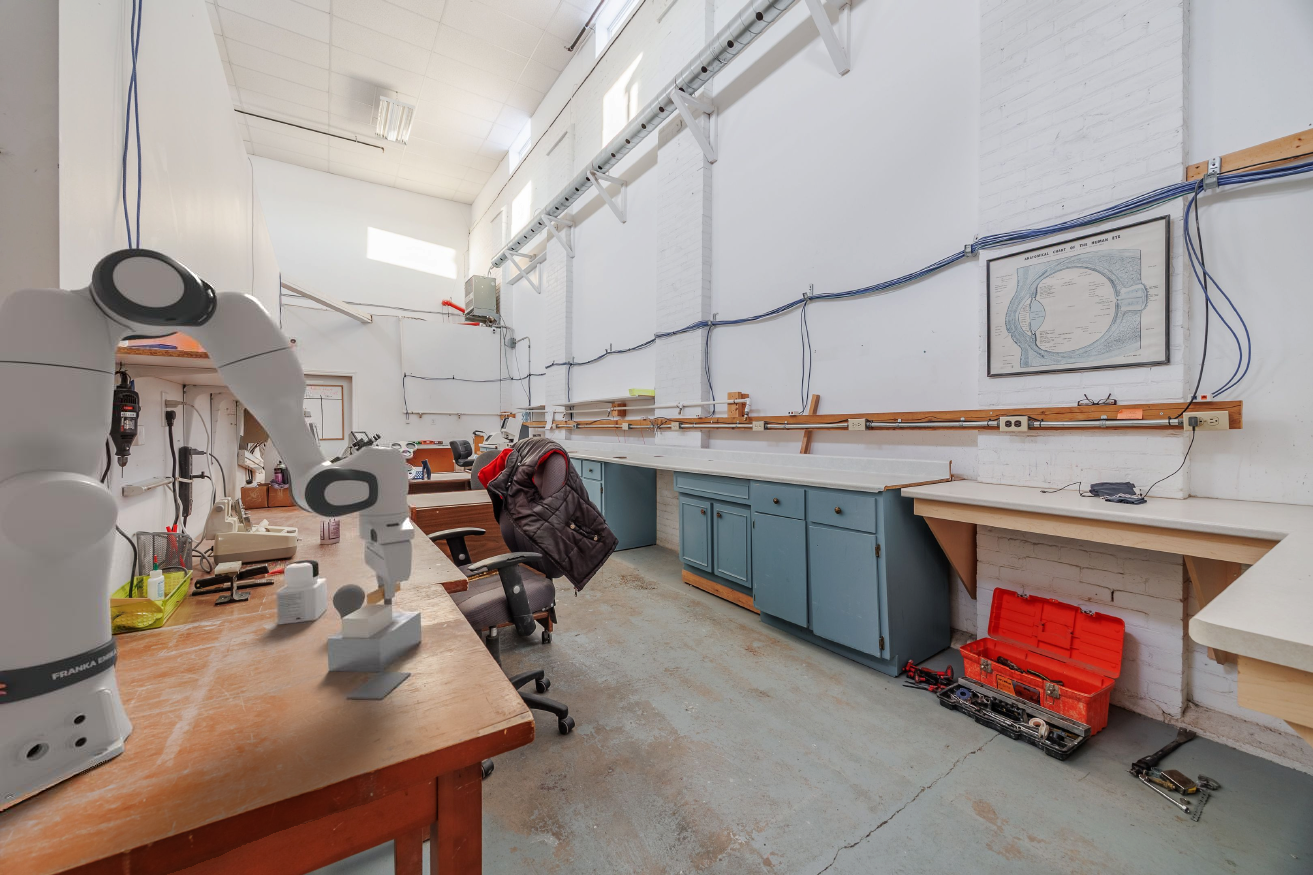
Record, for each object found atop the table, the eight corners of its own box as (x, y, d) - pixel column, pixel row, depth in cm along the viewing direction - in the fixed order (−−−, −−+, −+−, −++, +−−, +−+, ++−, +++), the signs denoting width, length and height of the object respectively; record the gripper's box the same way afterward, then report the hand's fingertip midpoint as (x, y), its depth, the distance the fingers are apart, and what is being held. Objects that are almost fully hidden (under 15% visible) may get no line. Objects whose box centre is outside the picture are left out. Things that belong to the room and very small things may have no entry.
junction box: (380, 672, 88) (379, 639, 88) (328, 670, 88) (327, 638, 88) (421, 640, 101) (420, 611, 100) (375, 639, 101) (374, 611, 101)
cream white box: (368, 637, 88) (367, 618, 88) (342, 637, 89) (341, 618, 89) (392, 622, 95) (391, 604, 95) (368, 621, 96) (367, 604, 96)
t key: (375, 627, 93) (374, 594, 93) (367, 627, 93) (366, 594, 93) (401, 611, 101) (400, 581, 101) (393, 611, 101) (392, 581, 101)
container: (291, 612, 118) (289, 559, 117) (328, 608, 120) (326, 556, 120) (276, 625, 110) (274, 568, 110) (316, 620, 113) (314, 564, 112)
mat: (381, 699, 79) (381, 697, 79) (347, 698, 79) (346, 696, 79) (410, 674, 87) (410, 672, 87) (378, 673, 87) (378, 671, 87)
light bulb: (372, 624, 109) (370, 580, 109) (353, 636, 103) (351, 589, 103) (347, 624, 110) (346, 580, 110) (327, 635, 104) (325, 589, 104)
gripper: (355, 522, 103) (356, 587, 103) (380, 536, 88) (382, 612, 88) (388, 518, 107) (389, 580, 107) (417, 531, 92) (419, 604, 92)
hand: (386, 595), depth 98 cm, fingers closed on t key, 2 cm apart
